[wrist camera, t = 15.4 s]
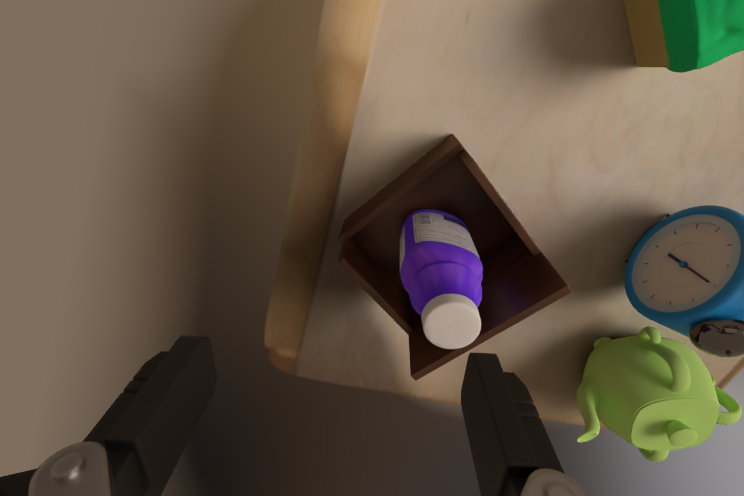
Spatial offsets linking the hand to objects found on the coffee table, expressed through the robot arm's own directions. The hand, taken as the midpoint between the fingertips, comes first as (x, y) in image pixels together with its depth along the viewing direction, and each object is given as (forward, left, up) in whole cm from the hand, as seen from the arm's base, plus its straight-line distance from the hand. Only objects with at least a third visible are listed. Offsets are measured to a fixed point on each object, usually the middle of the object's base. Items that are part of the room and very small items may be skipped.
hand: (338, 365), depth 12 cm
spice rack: (+6, -8, -34) cm, 36 cm away
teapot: (+34, -28, -34) cm, 56 cm away
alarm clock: (+34, -10, -34) cm, 50 cm away
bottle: (+6, -8, -30) cm, 32 cm away
